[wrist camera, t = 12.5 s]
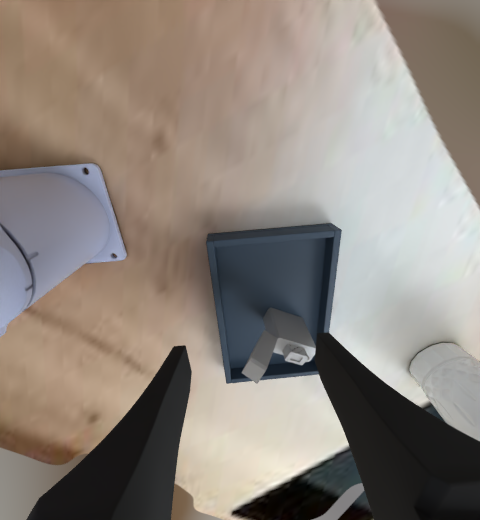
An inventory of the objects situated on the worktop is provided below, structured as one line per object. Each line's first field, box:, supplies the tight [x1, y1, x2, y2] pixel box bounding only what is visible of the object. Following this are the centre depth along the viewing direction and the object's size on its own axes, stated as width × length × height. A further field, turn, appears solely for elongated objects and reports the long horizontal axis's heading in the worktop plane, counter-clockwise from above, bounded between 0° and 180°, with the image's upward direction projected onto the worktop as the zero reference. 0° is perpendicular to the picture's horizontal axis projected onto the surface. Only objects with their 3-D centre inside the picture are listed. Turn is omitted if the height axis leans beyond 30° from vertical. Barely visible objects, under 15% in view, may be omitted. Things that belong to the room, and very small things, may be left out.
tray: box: [206, 223, 341, 383], centre depth 23 cm, size 11×17×2 cm, turn 4°
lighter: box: [242, 308, 316, 383], centre depth 20 cm, size 7×2×8 cm, turn 67°
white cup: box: [409, 343, 480, 441], centre depth 25 cm, size 8×8×10 cm
